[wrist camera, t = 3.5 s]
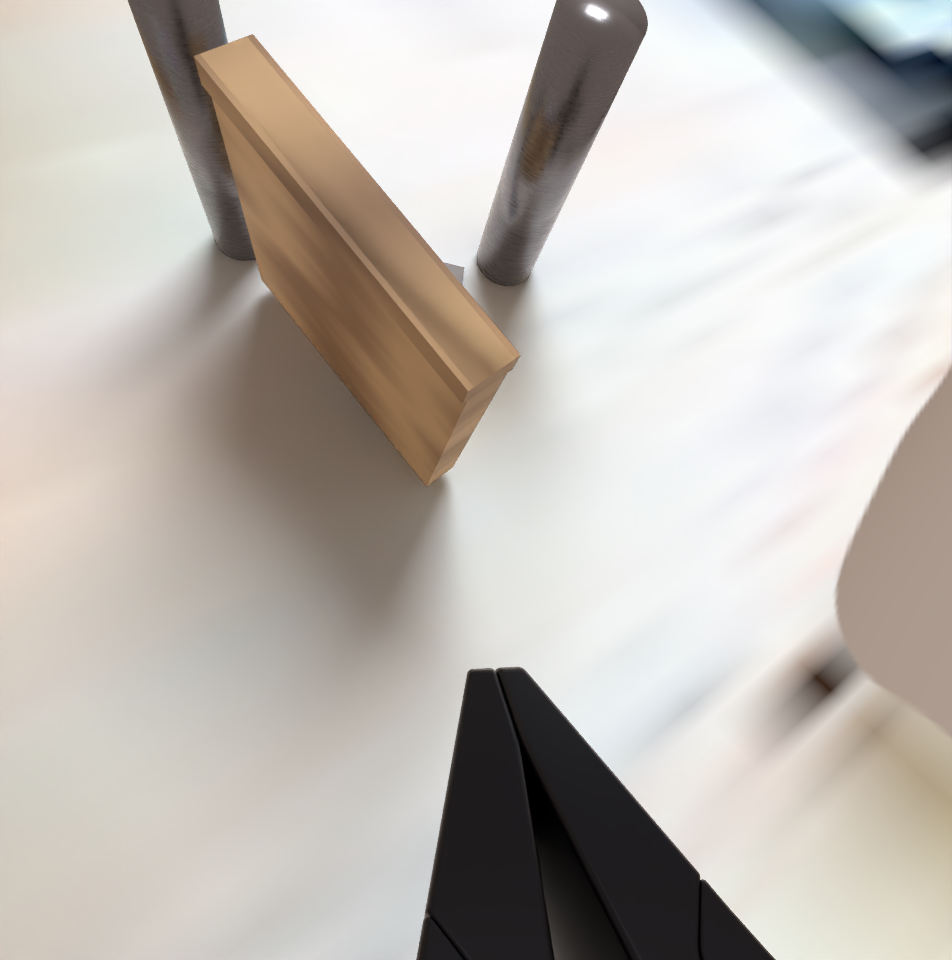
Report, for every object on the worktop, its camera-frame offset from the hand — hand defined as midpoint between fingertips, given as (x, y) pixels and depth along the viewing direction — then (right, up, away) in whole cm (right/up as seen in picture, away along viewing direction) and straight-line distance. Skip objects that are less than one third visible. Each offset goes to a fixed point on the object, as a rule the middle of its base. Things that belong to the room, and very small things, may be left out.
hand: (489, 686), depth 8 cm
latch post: (+1, +12, +15) cm, 20 cm away
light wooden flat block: (-5, +7, +12) cm, 15 cm away
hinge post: (-9, +12, +13) cm, 20 cm away
